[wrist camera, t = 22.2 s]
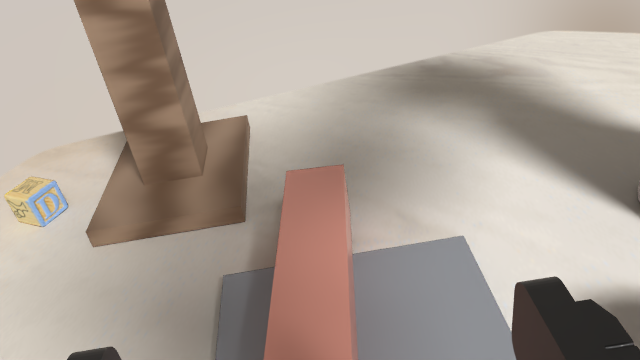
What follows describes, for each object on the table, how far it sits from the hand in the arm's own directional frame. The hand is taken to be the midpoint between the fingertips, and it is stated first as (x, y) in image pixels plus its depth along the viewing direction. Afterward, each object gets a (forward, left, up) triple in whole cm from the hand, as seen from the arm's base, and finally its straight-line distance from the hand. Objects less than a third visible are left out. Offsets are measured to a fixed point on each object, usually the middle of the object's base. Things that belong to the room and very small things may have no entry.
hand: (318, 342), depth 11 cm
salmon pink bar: (+1, -14, -15) cm, 21 cm away
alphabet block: (+24, -33, -16) cm, 44 cm away
